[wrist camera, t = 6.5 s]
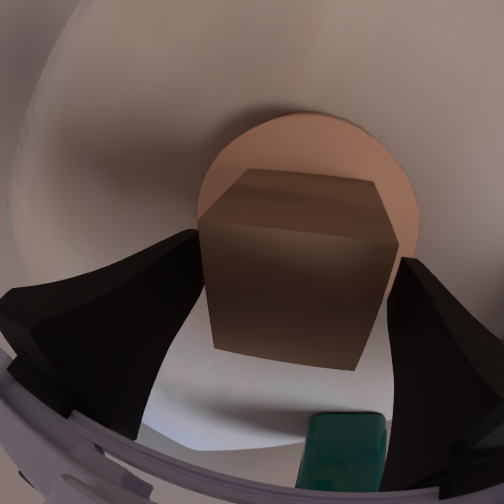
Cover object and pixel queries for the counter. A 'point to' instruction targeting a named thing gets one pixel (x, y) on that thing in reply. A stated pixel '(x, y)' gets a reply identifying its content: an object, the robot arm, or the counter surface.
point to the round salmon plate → (319, 165)
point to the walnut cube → (296, 266)
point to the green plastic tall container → (343, 453)
